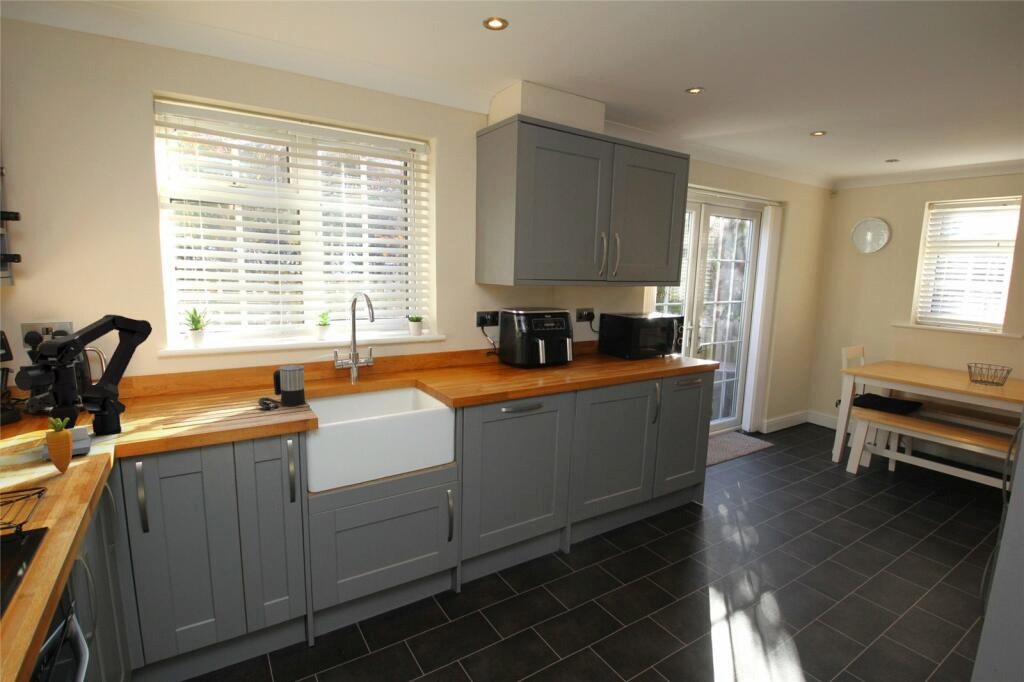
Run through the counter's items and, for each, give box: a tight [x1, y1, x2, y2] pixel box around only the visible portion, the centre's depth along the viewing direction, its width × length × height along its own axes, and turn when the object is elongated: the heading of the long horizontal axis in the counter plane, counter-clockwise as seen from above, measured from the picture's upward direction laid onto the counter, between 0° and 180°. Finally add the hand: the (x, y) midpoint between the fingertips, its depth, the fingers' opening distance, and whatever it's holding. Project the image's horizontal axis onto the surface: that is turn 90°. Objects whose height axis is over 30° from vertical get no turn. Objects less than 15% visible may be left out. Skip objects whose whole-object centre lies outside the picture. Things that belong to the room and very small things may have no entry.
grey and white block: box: [40, 425, 92, 461], centre depth 141 cm, size 10×10×6 cm
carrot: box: [45, 417, 73, 474], centre depth 127 cm, size 5×5×15 cm
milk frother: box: [257, 364, 307, 410], centre depth 194 cm, size 14×16×15 cm
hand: (69, 434), depth 148 cm, fingers closed
